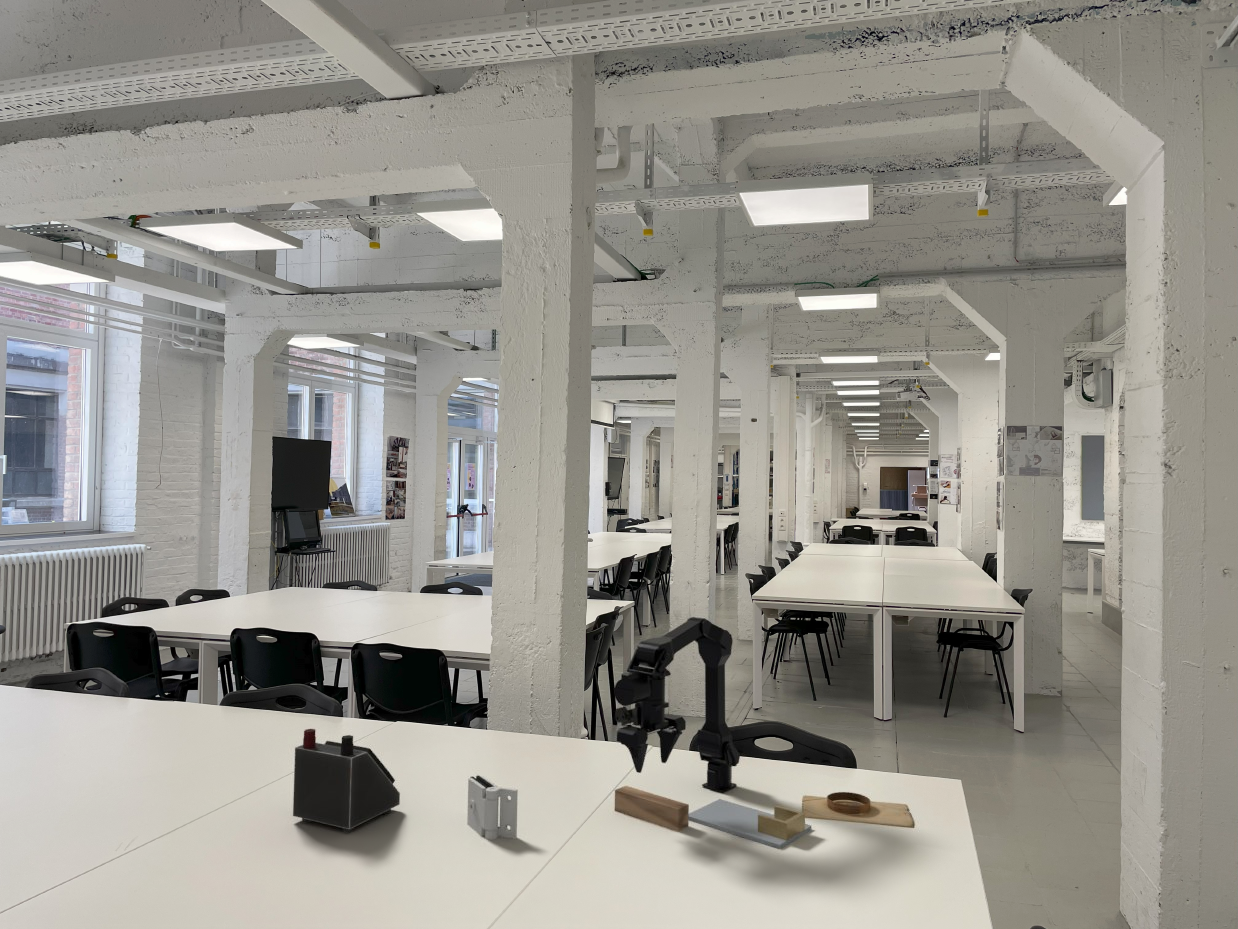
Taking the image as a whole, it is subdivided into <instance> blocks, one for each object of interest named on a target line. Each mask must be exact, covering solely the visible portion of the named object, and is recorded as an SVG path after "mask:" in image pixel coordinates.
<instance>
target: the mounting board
mask: <svg viewBox="0 0 1238 929" xmlns="http://www.w3.org/2000/svg"><path fill="white" fill-rule="evenodd" d="M759 814H762V815H766V816H769V817H773V818H774V813H773V814H772V813H769V812H766V811H763V810H759V809H755V808H752V807H749V806H745V805H742V804H739V803H735V802H732V801H728V800H724V799H720V798H718V799H717V800H714V801H712V802H710V803H708V804H706V805H704V806H702V807H700V808H697V809H695V810H693V811H691V812H689V821H691V822H693V823H697V824H700V825H703V826H707V827H709V828H713V829H715V830H716V829H717V830H719V831H722V832H726V833H728V834H732V835H734V836H738V837H740V838H741V837H742V838H744V839H746V840H747V839H748V840H751V841H754V842H756V843H760V844H763V845H767V846H769V847H772V848H775V849H779V850H781V849H782V848H783V847H785V846H787V845H789V844H790V843H791V842H794V841H795V840H797V839H798V838H800V837H802V836H803V835H805V834H806V833H808V832H810V831H811V830H812V825H810V824H808V823H805V830H803V831H802V832H800V833H799V834H797V835H795V836H794V837H792V838H790V839H789V840H787V841H786V840H783V839H780V838H777V837H773V836H770V835H767V834H764V833H760V832H758V815H759Z"/></svg>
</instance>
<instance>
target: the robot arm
mask: <svg viewBox="0 0 1238 929" xmlns="http://www.w3.org/2000/svg"><path fill="white" fill-rule="evenodd" d="M732 636H733V635H732V634H731V633H730V632H729V630H727V629H724V628H722V627H720V626H718V625H716V624H714V623H712V622H711V621H710V620H709V619H707V618H705V617H695V616H692V617H689V618H688V619H686V621H685V622H683V623H681V624H680V625H678V626H677V627H675V628H674V629H672V630H670V631H669V632H667V633H666V634H664V635H663V636H660V637H653V638H648V639H644V640H642V641H640V642H639V643H638V644H637V646H636V649H635V651H634V653H633V655H632V658H631V660H630V661H629V663H628V667H627V669H626V672H624V673H621V679H618V681H617V682H616V683H615V685H614V688H613V695H614V698H615V700H616V701H617V703H618V704H619V705H621V706H622V707H618V708H616V709H615V715H614V716H615V717H614V718H615V721H616V722H617V723H618V724H620V725H621V726H623V727H619V729H618V730H617V731H616V737H615V738H616V739H615V740H616V742H619V743H620V744H621V745H623V746H625V747H626V748H627V749H628V752H629V753H630V757H631V759H632V762H633V766H634V769H635V771H636V773H638V774H641V773H642V771H643V767H644V764H645V760H646V755H647V751H648V747H649V744H648V743H647V741H648V738H649V736H648V735H651V734H654V733H657V736H658V737H659V747H660V748H659V752H660V762H661V763H662V764H666V763H667V762H668V760H669V758H670V757H671V756H670V755H671V753H672V751H673V749H674V748H675V745H676V743H677V741H678V740H679V738H680V736H682V734H683V731H685V730H686V728H687V727H686V724H687V723H686V722H687V721H686V720H685V718H684V717H683V716H681V715H676V714H671V713H665V712H666V709H667V708H669V707H670V705H669V703H670V702H667V701H666V697H665V696H666V677H669V676H671V671H669V669H667V667H668V666H669V665H670V664H671V663H672V662H673V661H674V658H675V654H676V653H678V652H680V651H681V650H682V649H683V648H686V647H688V646H689V645H690V644H691V643H693V642H695V643H696V644H697V650H698V654H699V656H700V658H701V660H702V662H703V663H704V694H705V696H704V701H705V702H704V704H705V705H704V706H705V707H704V710H705V711H704V714H705V715H704V717H705V721H704V723H703V725H702V727H701V729H698V730H697V732H696V734H697V735H696V736H697V737H696V738H697V742H696V746H697V749H698V752H699V753H698V754H699V758H700V761H705V762H707V767H706V768H707V770H706V782H704V783H703V784H701V787H703V788H706V789H709V790H713V791H715V792H716V791H717V792H720V793H725V792H728V791H730V790H732V789H734V788H736V787H737V783H735V782H733V781H732V780H733V776H732V774H733V772H732V769H733V767H737V766H738V764H739V762H740V757H741V754H740V752H739V751H738V749H737V748H736V747H735V745H734V743H733V734H732V732H731V730H730V728H729V726H728V723H727V722H726V663H727V661H728V660H729V658H730V657H731V655H732V648H733V642H734V640H733V637H732ZM630 705H634V707H633V708H629V709H628V708H627V706H630ZM627 724H632V725H627ZM636 726H637V727H636Z"/></svg>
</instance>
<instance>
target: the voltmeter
mask: <svg viewBox="0 0 1238 929" xmlns="http://www.w3.org/2000/svg"><path fill="white" fill-rule="evenodd" d="M316 738H317V736H316V729H315V728H307V729H304V730H303V739H302V742H303V743H302V744H301V745H298V746H295V747H294V767H293V768H294V769H293V771H294V772H293V773H294V774H293V798H292V799H293V801H292V802H293V803H292V817H295V818H301V820H302V823H307V824H308V823H311V822H317V823H321V824H325V825H329V826H335V827H337V828H342V831H343V832H344V833H351V832H353V831H354V828H355V827H357V826H359V825H361V824H363V823H365V822H367V821H369V820H371V819H373V818H375V817H377V816H379V815H382V814H384V815H386V814H390V813H391V810H392V809H394V808H395V807H397V806H399V805H400V804H401V798H400V797H401V793H400V791H399V790H398V788H396V786H395V785H394V783H395V781H396V779H395V778H394V776H393V775H392V774H391V772H390V771H389V770H388V768H387V767H386V766H385V765H384V764H383V762H382V761H381V760H380V759H379V758H378V756H377V755H376V754H375V753H374V751H372V749H371V748H369V747H364V746H358V745H354V735H350V734H349V735H343V736H342V737H341V742H336V741H330V740H326V741H325V743H319V742H317V740H316Z"/></svg>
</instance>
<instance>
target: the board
mask: <svg viewBox="0 0 1238 929" xmlns="http://www.w3.org/2000/svg"><path fill="white" fill-rule="evenodd" d="M801 809H802V810H801V812H803V813H805V819H816V820H827V821H835V822H836V821H837V822H846V823H847V822H848V823H856V824H865V825H866V824H868V825H878V826H887V827H897V828H898V827H899V828H906V829H907V828H910V829H914V828H915V823H914V820H913V818H912V815H911V813H910V810H909V807H908V805H907V804H905V803H896V802H885V801H884V802H883V801H871V800H870V798H869V797H867V796H866V795H863V794H861V793H860V794H859V793H856V792H850V791H839V792H832V793H830V794H828V795H826V797H824V796H816V795H815V796H814V795H802V799H801Z"/></svg>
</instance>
